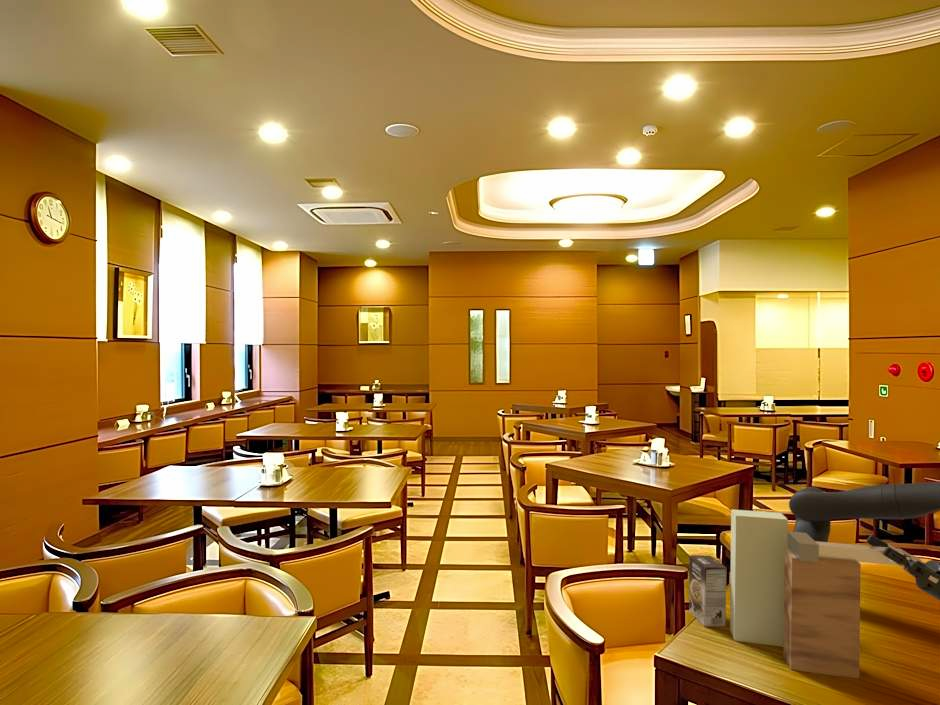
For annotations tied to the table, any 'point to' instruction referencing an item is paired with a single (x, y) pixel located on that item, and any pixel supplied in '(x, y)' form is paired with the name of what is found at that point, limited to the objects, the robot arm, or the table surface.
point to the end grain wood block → (835, 550)
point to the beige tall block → (757, 576)
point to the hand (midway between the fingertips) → (876, 544)
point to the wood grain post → (822, 616)
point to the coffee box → (707, 590)
